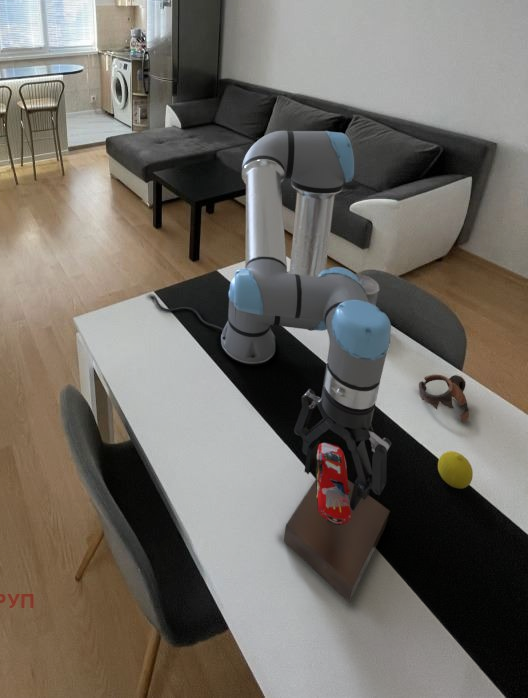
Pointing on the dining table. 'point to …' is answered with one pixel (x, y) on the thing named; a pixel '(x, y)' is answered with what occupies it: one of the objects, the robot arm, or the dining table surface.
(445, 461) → the lemon
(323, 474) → the race car
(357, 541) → the walnut step
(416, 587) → the dining table surface
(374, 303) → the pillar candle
